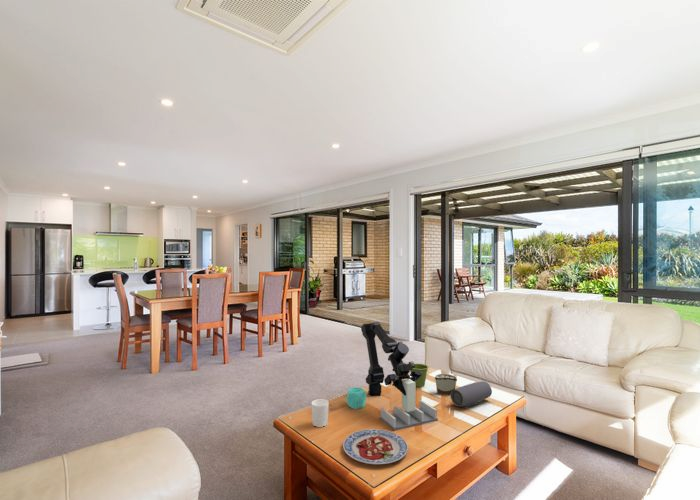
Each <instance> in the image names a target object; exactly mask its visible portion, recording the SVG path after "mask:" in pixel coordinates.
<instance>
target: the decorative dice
mask: <svg viewBox="0 0 700 500" xmlns="http://www.w3.org/2000/svg"><path fill="white" fill-rule="evenodd" d="M366 402H367V392H366V390H365V389H364V388H362V387H350V388H349V389H348V391H347V395H346V404H347V405H348V407H350V409H356V410H357V409H362V408H364V407H365V405H366Z"/></svg>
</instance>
